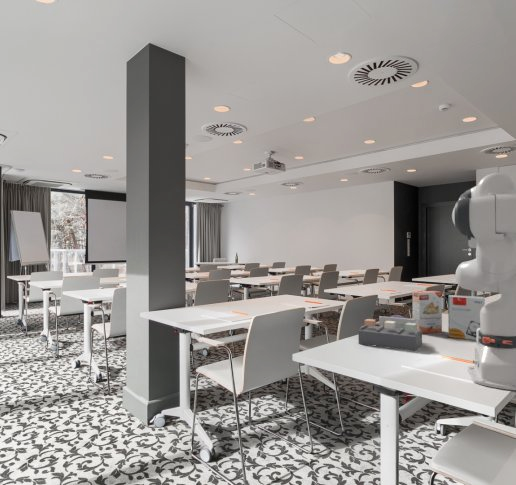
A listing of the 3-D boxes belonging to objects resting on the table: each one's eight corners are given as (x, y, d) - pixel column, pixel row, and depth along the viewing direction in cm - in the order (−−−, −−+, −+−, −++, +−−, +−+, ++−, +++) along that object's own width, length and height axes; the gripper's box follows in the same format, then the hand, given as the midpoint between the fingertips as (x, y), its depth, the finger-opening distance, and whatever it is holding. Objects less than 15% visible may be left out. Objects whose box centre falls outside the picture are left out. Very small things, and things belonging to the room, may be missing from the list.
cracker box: (419, 334, 194) (419, 292, 194) (412, 331, 199) (411, 291, 200) (443, 332, 197) (442, 291, 198) (434, 329, 203) (434, 290, 203)
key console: (416, 351, 161) (415, 327, 161) (358, 343, 174) (358, 321, 174) (424, 341, 177) (424, 320, 177) (371, 335, 191) (370, 315, 191)
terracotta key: (373, 326, 175) (373, 321, 175) (364, 325, 178) (364, 320, 178) (375, 325, 179) (375, 319, 179) (367, 324, 181) (367, 318, 181)
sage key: (414, 331, 166) (414, 325, 166) (405, 330, 168) (405, 324, 168) (416, 329, 169) (416, 323, 170) (407, 328, 172) (407, 322, 172)
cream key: (393, 328, 171) (393, 323, 171) (384, 327, 173) (384, 322, 173) (395, 327, 174) (395, 321, 174) (386, 326, 176) (386, 320, 177)
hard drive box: (448, 337, 185) (447, 296, 186) (448, 334, 192) (448, 294, 193) (485, 341, 178) (484, 298, 179) (484, 337, 185) (483, 296, 185)
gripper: (466, 225, 153) (467, 259, 154) (529, 223, 142) (529, 260, 143) (467, 224, 158) (468, 258, 159) (528, 222, 147) (528, 258, 148)
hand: (498, 259), depth 151 cm, fingers open, 8 cm apart
